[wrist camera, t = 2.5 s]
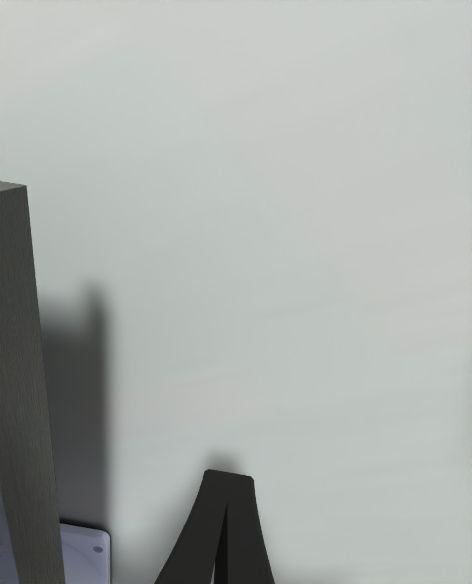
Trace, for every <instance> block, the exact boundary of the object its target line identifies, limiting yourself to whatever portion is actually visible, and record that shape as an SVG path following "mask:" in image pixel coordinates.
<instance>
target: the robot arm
mask: <svg viewBox="0 0 472 584" xmlns="http://www.w3.org/2000/svg"><path fill="white" fill-rule="evenodd" d="M60 532H61V542H62V552H63V562H64V573H65V583H66V584H110V537H109V535H108V534H107V533H106V532H104V531H101V530H96V529H90V528H85V527H79V526H73V525H68V524H62V523H60ZM214 563H215V572H214V584H275V582H274V579H273V575H272V572H271V568H270V564H269V560H268V556H267V552H266V548H265V544H264V539H263V535H262V530H261V525H260V520H259V515H258V510H257V504H256V497H255V488H254V480H253V478H252V477H251V476H245V475H240V474H234V473H228V472H222V471H217V470H211V469H208V470H206V471H205V472H204V476H203V480H202V483H201V486H200V489H199V492H198V495H197V498H196V500H195V503H194V505H193V507H192V510H191V512H190V515H189V517H188V519H187V521H186V523H185V525H184V528H183V530H182V532H181V534H180V536H179V538H178V540H177V542H176V544H175V546H174V548H173V550H172V552H171V554H170V556H169V558H168V560H167V561H166V563H165V565H164V567H163V569H162V571H161V572H160V574H159V576H158V578H157V580H156V582H155V583H154V584H210V583H211V578H212V573H213V568H214Z"/></svg>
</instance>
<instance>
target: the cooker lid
mask: <svg viewBox="0 0 472 584" xmlns="http://www.w3.org/2000/svg"><path fill="white" fill-rule="evenodd" d="M0 584H66V583H65V573H64V562H63V552H62V542H61V532H60V522H59V512H58V501H57V491H56V481H55V471H54V461H53V451H52V441H51V430H50V420H49V410H48V400H47V390H46V380H45V370H44V359H43V349H42V339H41V329H40V319H39V309H38V298H37V288H36V278H35V268H34V258H33V248H32V238H31V227H30V217H29V207H28V197H27V187H26V185H21V184H15V183H8V182H2V181H0Z"/></svg>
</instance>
